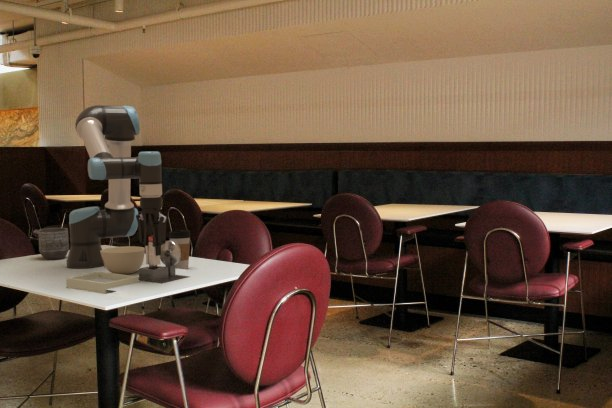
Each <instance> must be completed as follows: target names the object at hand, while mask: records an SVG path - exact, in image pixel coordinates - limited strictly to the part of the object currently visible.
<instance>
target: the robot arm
mask: <svg viewBox="0 0 612 408" xmlns="http://www.w3.org/2000/svg"><path fill="white" fill-rule="evenodd" d="M74 125H75V130H76V131H75V132H76V133H77V136H78V137H79V138H81V140H82V141H83V143H84V146H85V149H86V151H87V155H88V157H89V159H88V161H87V173H88V177H89V179H90V180H98V181H99V180H100V181H106V180H108V201H107V202H106V203H105V204H104V209H100V207H99V206H87V207H81V208H77V209H73V210H72V211H70V213H69V217H68V218H69V220H68V221H69V222H68V224H69V241H70V242H69V251H68V254H67V255H68V256H67V259H66V267H67V268H70V269H89V268H97V267H102V266H105V265H104V263H103V260H102V256H101V252H100V251H101V250H102V244H101V243H102V242H101V239H112V238H126V237H131V236H134V235H135V234H136V232H137V231H138V238H139V243H140V244H143V246H144V248H145V254H144V255H145V265H146V266H147V265H148V266H149V247H148V236H153V240H154V245H153V247H152V249H153V265H154V266H155V265H157V266H160V265H161V259H160V255H161V245H163V244H165V242H166V241H167V240H166V239H167V237H166V236H167V222H168V217H169V216H167V215H164V214H163V213H162V208H163V197H162V196H163V183H162V182H163V181H162V156H161V152H160V151H140V152H139V153H138V156H135V157H134V156H132V144H133V142H135V140H136V136H139V134H140V130H141V128H140V125H141V124H140V119H139V115H138V111H137V110H136V108H135V107H134V106H131V105H124V104H123V105H118V104H117V105H111V104H110V105H108V104H107V105H100V104H99V105H97V104H95V105H91V106H89V107H87V108H84V109H83V110H81V112H80V113H79V115H78V116H77V118H76V119H75V123H74ZM131 156H132V157H131ZM131 179H135V180H136V179H139V180H138V181H139V182H138V184H139V196H140V198H139V208H140V209H141V213H140V214H139V211H138V209H137V208H136V207H135V205H134V203H133V202H132V201H131Z"/></svg>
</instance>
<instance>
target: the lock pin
mask: <svg viewBox="0 0 612 408" xmlns="http://www.w3.org/2000/svg"><path fill="white" fill-rule="evenodd" d="M147 241H148V247H149V264H148V267H149V269H156V268H157V266H158V265H155V266H154V265H153V249H152V247H153V245H154V240H153V235H151V236H148V240H147Z"/></svg>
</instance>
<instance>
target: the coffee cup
mask: <svg viewBox="0 0 612 408" xmlns="http://www.w3.org/2000/svg"><path fill="white" fill-rule="evenodd" d="M191 236H192V235H191V232H190V230H189V229H185V230H173V231H169V233H168V239H169V240H173V241H175V242H176V243H177V244H178V245H179V247H180V250H181V259H180V261H179V263H178V264H176V265H175V269H180V270H188V269H189V263H190V260H189V259H190V248H191V247H190V245H191V242H190V241H191V240H190V238H191Z"/></svg>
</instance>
